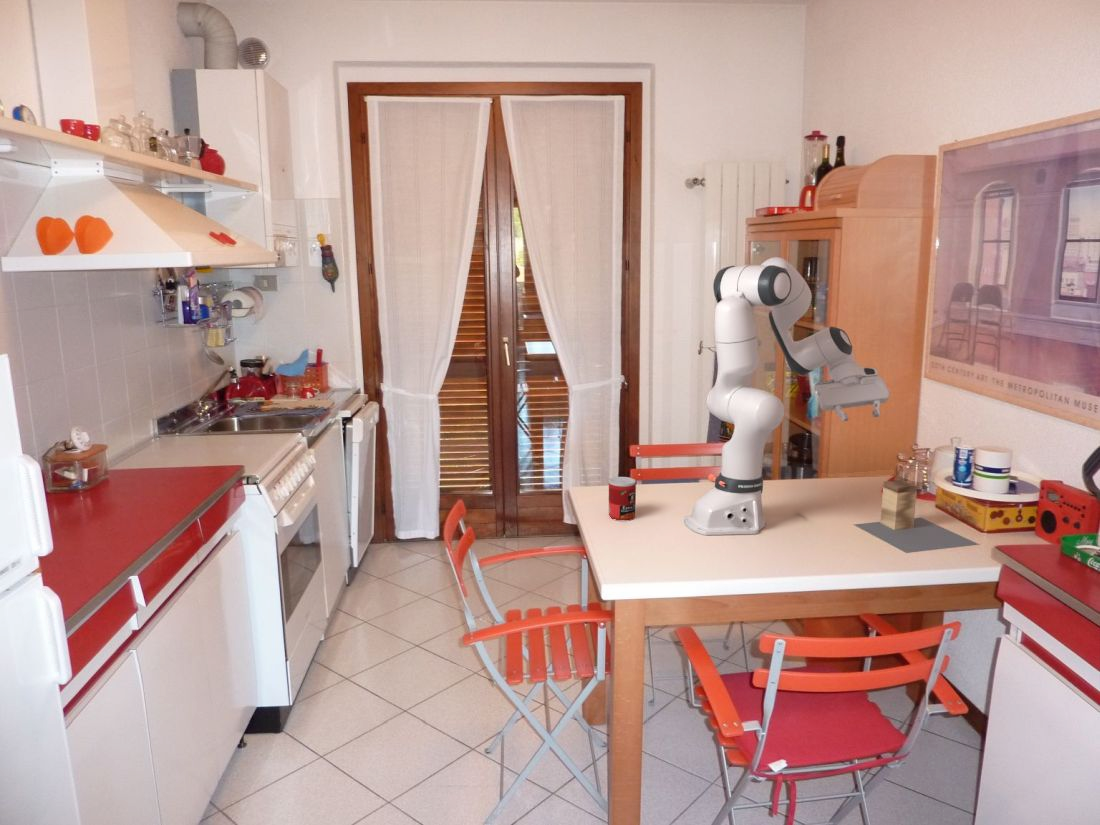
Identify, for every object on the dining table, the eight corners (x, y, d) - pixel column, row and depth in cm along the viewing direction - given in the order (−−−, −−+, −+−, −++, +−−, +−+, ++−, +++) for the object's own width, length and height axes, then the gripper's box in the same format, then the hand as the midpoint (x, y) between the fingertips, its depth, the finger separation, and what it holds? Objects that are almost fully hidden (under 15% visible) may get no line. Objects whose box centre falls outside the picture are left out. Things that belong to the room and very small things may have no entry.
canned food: (622, 523, 226) (623, 485, 224) (602, 516, 232) (603, 480, 230) (641, 517, 231) (641, 480, 229) (621, 510, 237) (621, 475, 235)
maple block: (894, 530, 218) (898, 487, 215) (880, 523, 223) (883, 481, 221) (913, 528, 219) (917, 486, 217) (898, 521, 225) (902, 480, 222)
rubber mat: (906, 555, 202) (906, 552, 202) (852, 526, 223) (853, 524, 222) (979, 546, 207) (979, 544, 207) (920, 519, 228) (920, 517, 228)
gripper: (815, 377, 237) (829, 417, 231) (882, 368, 238) (898, 408, 231) (810, 388, 243) (823, 427, 236) (875, 379, 244) (891, 418, 237)
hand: (861, 418), depth 234 cm, fingers open, 8 cm apart
